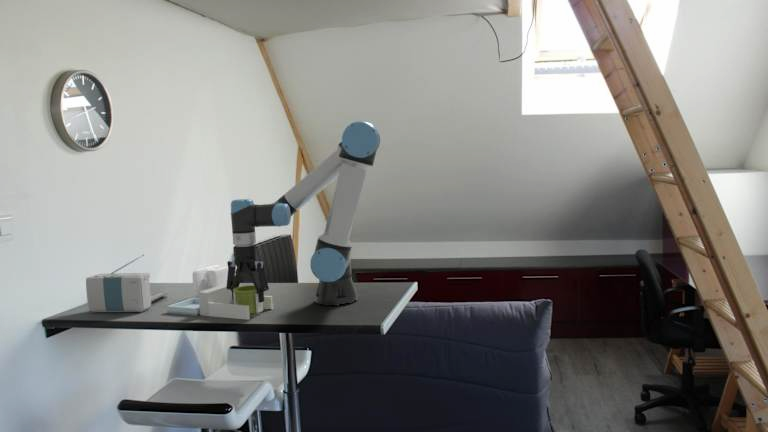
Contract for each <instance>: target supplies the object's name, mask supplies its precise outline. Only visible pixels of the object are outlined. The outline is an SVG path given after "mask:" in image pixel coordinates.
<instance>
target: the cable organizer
mask: <svg viewBox="0 0 768 432" xmlns="http://www.w3.org/2000/svg"><path fill="white" fill-rule="evenodd" d="M236 269H237V266H236ZM235 272H236V270H235ZM235 275H236V273H235ZM191 277H192V288H193V296H194V297H195V298H199V293H198V292H201V291H204V290H207V289H210V288H214V287H217V286H220V285H223V284H227V277H228V265H226V266H224V267H221V266H220V265H219V264H213V265H210V266H206V267H201V268H198V269H195V270H193V272H192V276H191ZM194 297H193V298H194Z"/></svg>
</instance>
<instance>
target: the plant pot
mask: <svg viewBox="0 0 768 432" xmlns="http://www.w3.org/2000/svg"><path fill="white" fill-rule="evenodd" d="M233 291H234V292H235V295H236V298H237V303H238V304H239V305H249V314H250V316H251V315H253V314H255V315H256V314H257V313H256V297H255V293H257V290H256V288H255V286H254V284H251V285H241V286H239V287H237V288H234V289H233Z"/></svg>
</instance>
